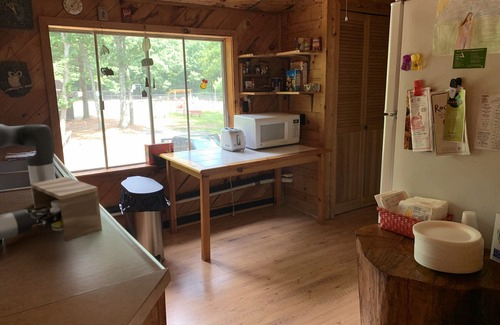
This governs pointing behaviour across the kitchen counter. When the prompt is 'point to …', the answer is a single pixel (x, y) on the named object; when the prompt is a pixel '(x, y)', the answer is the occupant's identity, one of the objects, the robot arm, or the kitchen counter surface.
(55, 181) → the cubby
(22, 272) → the kitchen counter surface
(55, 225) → the supplement bottle
